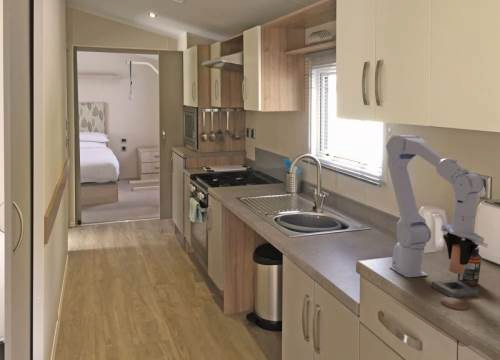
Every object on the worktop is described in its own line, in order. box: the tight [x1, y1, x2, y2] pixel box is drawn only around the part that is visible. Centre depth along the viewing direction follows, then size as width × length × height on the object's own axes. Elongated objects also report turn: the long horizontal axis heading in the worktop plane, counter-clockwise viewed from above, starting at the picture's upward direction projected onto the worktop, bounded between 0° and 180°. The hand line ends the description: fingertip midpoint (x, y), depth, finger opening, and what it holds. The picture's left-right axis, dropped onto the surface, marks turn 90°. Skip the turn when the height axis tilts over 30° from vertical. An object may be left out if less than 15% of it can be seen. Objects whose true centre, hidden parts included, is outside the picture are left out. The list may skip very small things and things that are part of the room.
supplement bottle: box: [456, 246, 482, 286], centre depth 153 cm, size 6×6×11 cm
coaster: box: [440, 296, 469, 311], centre depth 136 cm, size 7×7×1 cm
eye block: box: [430, 278, 480, 299], centre depth 146 cm, size 9×9×2 cm
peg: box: [448, 244, 465, 275], centre depth 144 cm, size 4×4×8 cm
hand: (457, 261), depth 144 cm, fingers closed on peg, 4 cm apart
